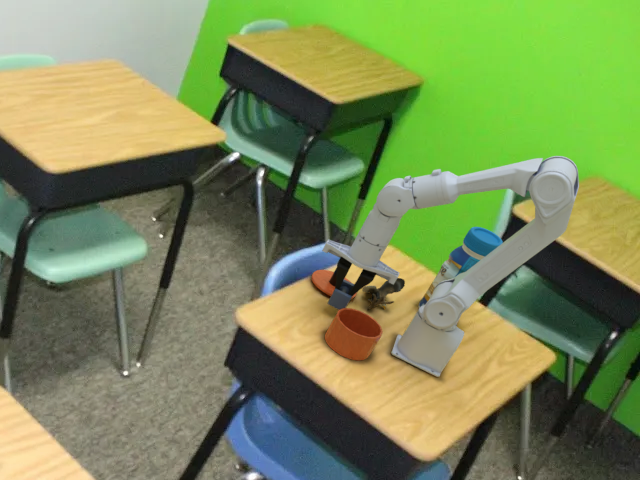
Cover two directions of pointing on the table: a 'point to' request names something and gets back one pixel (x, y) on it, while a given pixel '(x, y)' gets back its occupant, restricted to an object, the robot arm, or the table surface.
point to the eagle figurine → (383, 292)
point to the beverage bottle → (465, 256)
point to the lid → (326, 281)
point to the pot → (353, 334)
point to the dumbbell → (341, 296)
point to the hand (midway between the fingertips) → (341, 295)
